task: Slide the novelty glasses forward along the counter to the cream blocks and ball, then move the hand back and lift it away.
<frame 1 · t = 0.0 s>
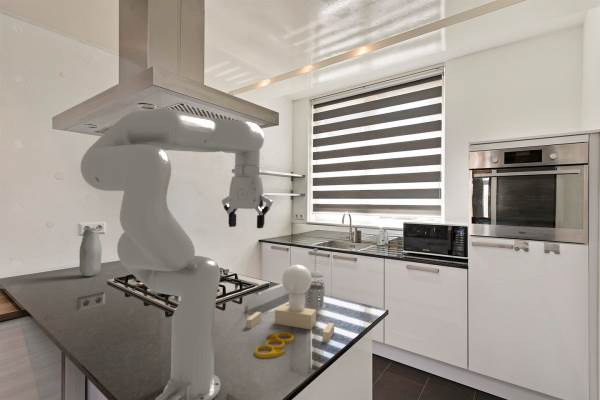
hand: (246, 227, 93), 37 cm above the table, tool pointing down, fingers open, 9 cm apart
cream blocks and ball: (295, 323, 110), on the table
french press: (315, 307, 129), on the table
glass bottle: (90, 276, 173), on the table
novelty glasses: (275, 347, 93), on the table
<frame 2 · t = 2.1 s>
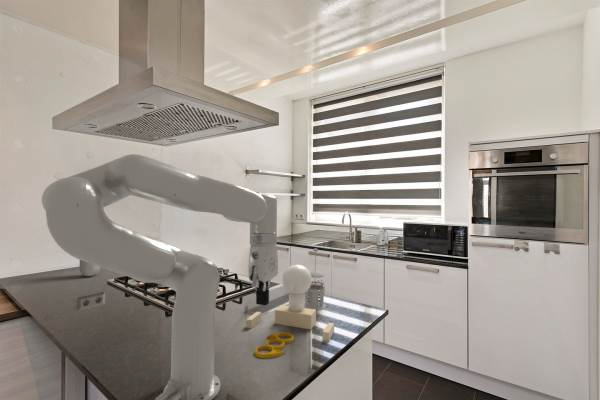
hand: (262, 303, 84), 16 cm above the table, tool pointing down, fingers closed
nothing on the table moved.
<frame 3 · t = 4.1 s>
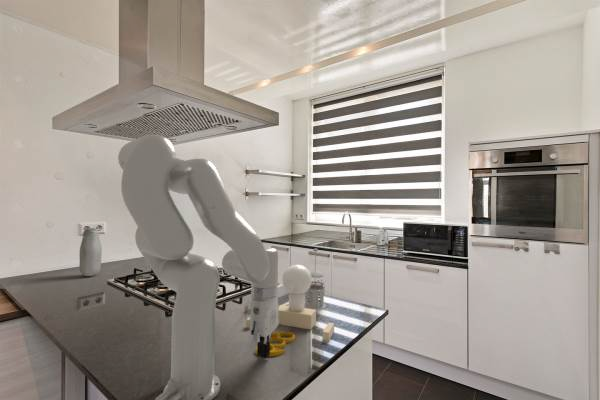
hand: (263, 355, 85), 1 cm above the table, tool pointing down, fingers closed
novelty glasses: (276, 346, 93), on the table, touching gripper
everything else where it was.
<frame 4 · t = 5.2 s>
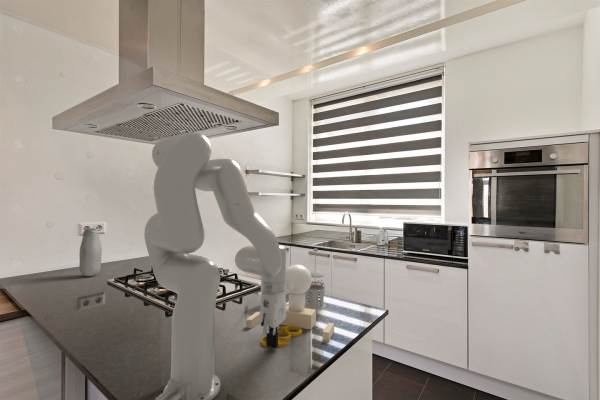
hand: (272, 346, 91), 1 cm above the table, tool pointing down, fingers closed
novelty glasses: (282, 339, 99), on the table
everything else where it was.
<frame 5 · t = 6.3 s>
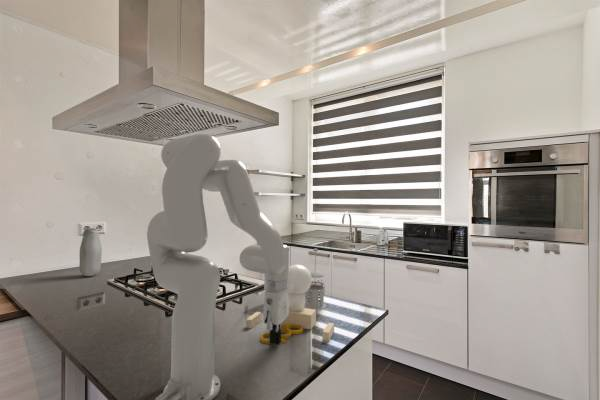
hand: (275, 342, 93), 1 cm above the table, tool pointing down, fingers closed
novelty glasses: (282, 336, 101), on the table
everything else where it was.
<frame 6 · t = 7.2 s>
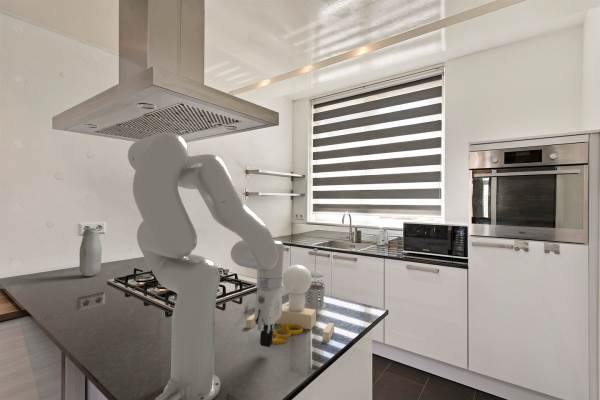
hand: (266, 345, 88), 3 cm above the table, tool pointing down, fingers closed
nothing on the table moved.
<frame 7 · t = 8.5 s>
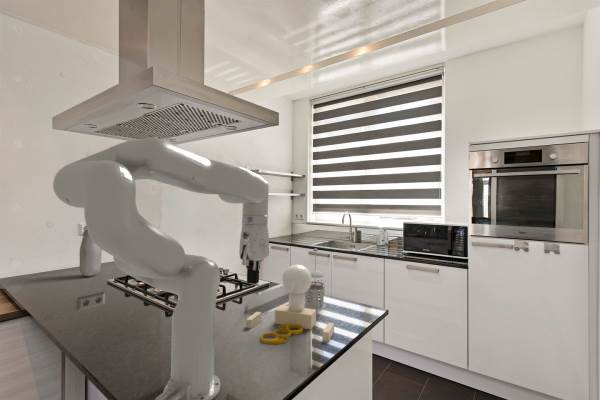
hand: (252, 282, 89), 21 cm above the table, tool pointing down, fingers closed
nothing on the table moved.
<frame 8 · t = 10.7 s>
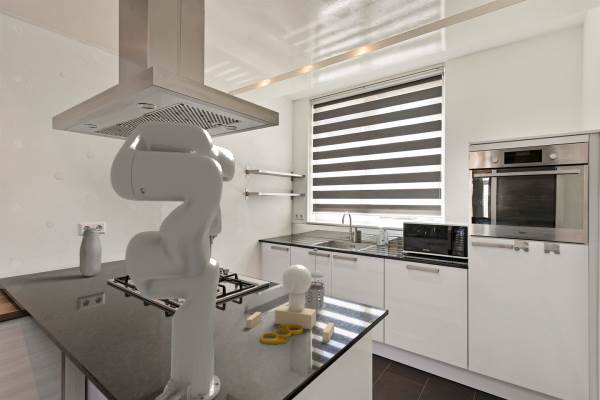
hand: (205, 257, 93), 27 cm above the table, tool pointing down, fingers closed
nothing on the table moved.
at the end: novelty glasses inside the target area on the table beside the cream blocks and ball (2.1 cm from its centre), on the table; novelty glasses moved 8.0 cm from its start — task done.
